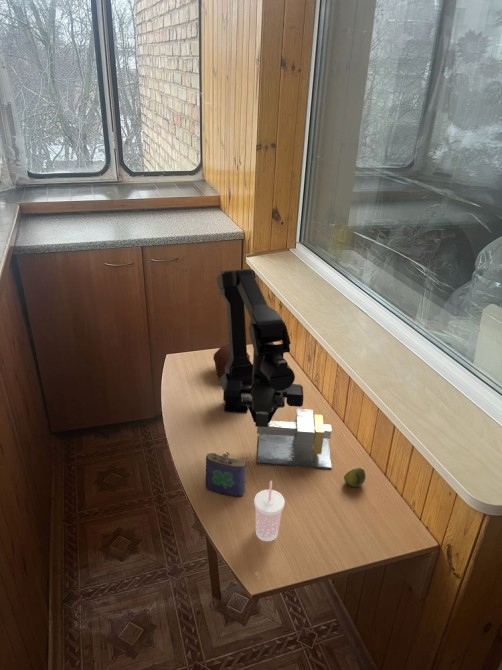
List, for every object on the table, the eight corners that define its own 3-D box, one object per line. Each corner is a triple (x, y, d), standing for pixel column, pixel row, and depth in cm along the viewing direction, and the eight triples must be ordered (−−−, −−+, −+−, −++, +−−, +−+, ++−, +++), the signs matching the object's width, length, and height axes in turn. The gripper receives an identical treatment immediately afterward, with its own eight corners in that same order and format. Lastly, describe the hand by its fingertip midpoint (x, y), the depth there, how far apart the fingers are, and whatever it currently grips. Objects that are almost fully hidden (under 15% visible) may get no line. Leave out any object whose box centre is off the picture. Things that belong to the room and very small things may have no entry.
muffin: (248, 386, 155) (249, 358, 150) (211, 385, 155) (212, 356, 150) (249, 366, 165) (250, 339, 161) (214, 365, 165) (215, 337, 161)
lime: (340, 485, 119) (343, 469, 117) (350, 474, 123) (353, 458, 120) (358, 494, 117) (361, 478, 115) (367, 483, 120) (370, 466, 118)
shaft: (254, 434, 125) (256, 413, 123) (255, 426, 128) (256, 406, 125) (330, 439, 125) (333, 419, 122) (329, 431, 128) (332, 411, 125)
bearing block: (257, 463, 125) (259, 431, 120) (259, 435, 134) (261, 403, 130) (331, 469, 124) (336, 436, 119) (327, 440, 134) (332, 408, 129)
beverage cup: (267, 516, 110) (271, 466, 104) (287, 534, 106) (293, 483, 100) (246, 530, 106) (248, 479, 100) (266, 549, 102) (270, 498, 96)
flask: (245, 490, 117) (247, 454, 112) (242, 499, 114) (243, 462, 109) (207, 481, 119) (207, 445, 114) (203, 490, 116) (202, 453, 111)
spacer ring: (313, 453, 125) (315, 431, 122) (311, 436, 131) (314, 414, 128) (321, 454, 125) (324, 432, 122) (319, 436, 131) (322, 415, 128)
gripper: (221, 383, 111) (220, 440, 119) (307, 389, 111) (300, 445, 118) (226, 358, 121) (225, 411, 128) (304, 362, 121) (299, 416, 128)
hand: (261, 421), depth 125 cm, fingers closed on shaft, 3 cm apart
